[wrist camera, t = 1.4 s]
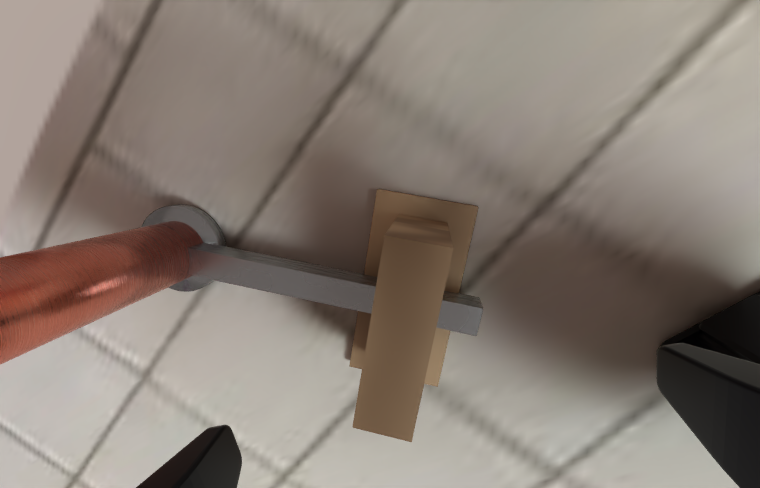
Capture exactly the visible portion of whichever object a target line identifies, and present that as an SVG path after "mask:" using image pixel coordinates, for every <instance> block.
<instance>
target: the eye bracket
mask: <svg viewBox="0 0 760 488" xmlns="http://www.w3.org/2000/svg"><path fill="white" fill-rule="evenodd" d="M477 212H478V206H474V205H468V204H462V203H456V202H451V201H445V200H439V199H433V198H428V197H422V196H416V195H410V194H405V193H399V192H393V191H388V190H382V189H377V192H376V199H375V205H374V212H373V218H372V224H371V231H370V237H369V244H368V250H367V256H366V263H365V269H364V274H365V275H370V276H375V277H377V283H376V289H375V295H374V301H373V307H372V313H371V314H370V313H366V312H361V311H358V314H357V321H356V327H355V334H354V340H353V346H352V353H351V359H350V366H351V367H355V368H359V369H362V373H361V379H360V385H359V391H358V397H357V403H356V409H355V415H354V421H353V428H357V429H361V430H365V431H369V432H373V433H377V434H381V435H385V436H389V437H393V438H397V439H401V440H405V441H409V442H412V437H413V433H414V428H415V423H416V419H417V414H418V410H419V405H420V400H421V396H422V391H423V387H424V384H428V385H433V386H437V387H438V383H439V378H440V374H441V370H442V365H443V361H444V356H445V352H446V348H447V343H448V339H449V335H450V330H445V329H441V328H436V327H437V322H438V317H439V313H440V308H441V304H442V299H443V294H444V291H449V292H454V293H459V291H460V286H461V282H462V278H463V273H464V269H465V264H466V260H467V256H468V251H469V247H470V242H471V238H472V234H473V229H474V225H475V220H476V216H477Z"/></svg>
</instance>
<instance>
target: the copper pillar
mask: <svg viewBox="0 0 760 488" xmlns="http://www.w3.org/2000/svg"><path fill="white" fill-rule="evenodd" d="M214 280H216V281H220V282H225V283H230V284H234V285H239V286H244V287H248V288H253V289H258V290H263V291H267V292H272V293H277V294H281V295H286V296H291V297H295V298H300V299H305V300H309V301H314V302H319V303H323V304H328V305H333V306H338V307H342V308H347V309H352V310H356V311H361V312H366V313H370V314H371V313H372V307H373V301H374V295H375V289H376V283H377V277H375V276H370V275H365V274H360V273H355V272H350V271H345V270H340V269H335V268H330V267H325V266H320V265H315V264H310V263H305V262H300V261H295V260H290V259H285V258H281V257H276V256H271V255H266V254H261V253H256V252H251V251H246V250H241V249H236V248H231V247H226V243H225V239H224V236H223V234H222V232H221V230H220V228H219V226H218V225H217V224H216V222H215V221H214V220H213V219H212V218H211V217H210V216H209V215H208V214H206V213H205V212H204V211H202V210H200V209H198V208H196V207H193V206H189V205H174V206H167V207H163V208H160V209H157V210H156V211H154V212H153V213H151V214H150V215H149V216H148V217H147V218H146V220H145V221H144V223H143V225H142V227H141V228H137V229H132V230H127V231H122V232H118V233H113V234H108V235H104V236H99V237H94V238H90V239H85V240H80V241H76V242H71V243H66V244H62V245H57V246H52V247H48V248H43V249H38V250H33V251H29V252H24V253H19V254H15V255H10V256H5V257H1V258H0V364H2V363H5V362H7V361H9V360H11V359H13V358H15V357H18V356H20V355H22V354H24V353H26V352H28V351H31V350H33V349H35V348H37V347H39V346H41V345H44V344H46V343H48V342H50V341H52V340H55V339H57V338H59V337H61V336H63V335H65V334H68V333H70V332H72V331H74V330H76V329H78V328H81V327H83V326H85V325H87V324H89V323H91V322H94V321H96V320H98V319H100V318H102V317H104V316H107V315H109V314H111V313H113V312H115V311H118V310H120V309H122V308H124V307H126V306H128V305H131V304H133V303H135V302H137V301H139V300H141V299H144V298H146V297H148V296H150V295H152V294H154V293H157V292H159V291H161V290H163V289H165V288H167V287H169V288H171V289H174V290H177V291H194V290H198V289H200V288H202V287H204V286H206V285H208V284H210V283H211V282H213V281H214ZM482 312H483V307H482V304H481V301H480V298H479V297H474V296H469V295H464V294H459V293H454V292H449V291H444V294H443V299H442V304H441V308H440V313H439V317H438V322H437V327H436V328H441V329H445V330H450V331H455V332H459V333H464V334H469V335H473V336H477V332H478V328H479V324H480V320H481V316H482Z"/></svg>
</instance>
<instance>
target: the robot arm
mask: <svg viewBox="0 0 760 488" xmlns="http://www.w3.org/2000/svg"><path fill="white" fill-rule="evenodd" d="M657 384H658V387H659V389H660V391H661V393H662V394H663V396H664V397H665V398H666V399H667V401H668V402H669V403H670V404H671V406H672V407H673V408H674V409H675V411H676V412H677V413H678V414H679V416H680V417H681V418H682V419H683V421H684V422H685V423H686V424H687V426H688V427H689V428H690V429H691V431H692V432H693V433H694V434H695V436H696V437H697V438H698V439H699V441H700V442H701V443H702V444H703V446H704V447H705V448H706V449H707V451H708V452H709V453H710V454H711V456H712V457H713V458H714V459H715V460H716V461H717V463H718V464H719V465H720V466H721V467H722V469H723V470H724V471H725V472H726V473H727V474H728V475H729V476H730V477H731V479H732V480H733V481H734V482H735V483H736V484H737V485H738V486H739V487H740V488H760V292H758V293H756V294H754V295H752V296H750V297H748V298H746V299H744V300H743V301H741V302H739V303H737V304H735V305H733V306H731V307H729V308H727V309H725V310H724V311H722V312H720V313H718V314H716V315H714V316H712V317H710V318H708V319H707V320H705V321H703V322H701V323H699V324H697V325H695V326H693V327H691V328H690V329H688V330H686V331H684V332H682V333H680V334H678V335H676V336H674V337H673V338H671V339H669V340H667V341H665V342H664V343H662V345H661V346H660V347H659V348H658V350H657ZM241 466H242V457H241V453H240V450H239V447H238V445H237V442H236V440H235V437H234V434H233V432H232V430H231V428H230V427H229V426H228V425H221V426H215V427H210V428H208V429H206V430H205V431H204V432H203V433H201V434H200V435H199V436H198V437H197V438H195V439H194V440H193V441H192V442H190V443H189V444H188V445H187V446H186V447H184V448H183V449H182V450H181V451H180V452H178V453H177V454H176V455H175V456H174V457H172V458H171V459H170V460H169V461H168V462H166V463H165V464H164V465H163V466H162V467H160V468H159V469H158V470H157V471H156V472H154V473H153V474H152V475H151V476H149V477H148V478H147V479H146V480H145V481H143V482H142V483H141V484H140V485H139V486H137V487H136V488H237V484H238V480H239V476H240V471H241Z"/></svg>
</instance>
